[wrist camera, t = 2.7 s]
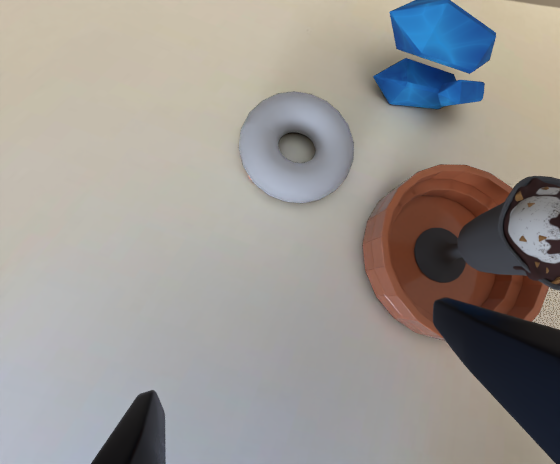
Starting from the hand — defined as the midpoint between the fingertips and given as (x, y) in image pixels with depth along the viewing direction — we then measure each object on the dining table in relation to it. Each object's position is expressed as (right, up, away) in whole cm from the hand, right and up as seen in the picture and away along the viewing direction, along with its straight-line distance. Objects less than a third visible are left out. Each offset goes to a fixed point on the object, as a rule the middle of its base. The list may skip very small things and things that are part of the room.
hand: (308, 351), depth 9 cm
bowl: (+13, +2, +18) cm, 22 cm away
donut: (0, +11, +18) cm, 21 cm away
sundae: (+13, +2, +18) cm, 22 cm away
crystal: (+12, +18, +22) cm, 31 cm away
